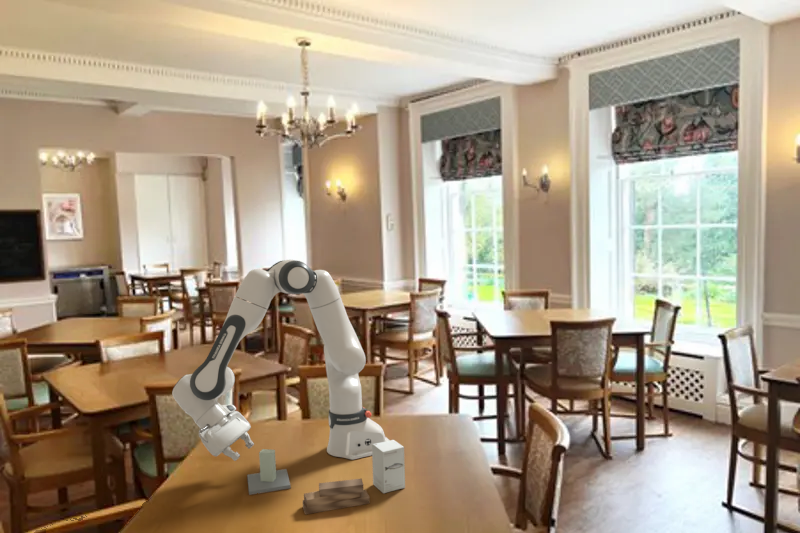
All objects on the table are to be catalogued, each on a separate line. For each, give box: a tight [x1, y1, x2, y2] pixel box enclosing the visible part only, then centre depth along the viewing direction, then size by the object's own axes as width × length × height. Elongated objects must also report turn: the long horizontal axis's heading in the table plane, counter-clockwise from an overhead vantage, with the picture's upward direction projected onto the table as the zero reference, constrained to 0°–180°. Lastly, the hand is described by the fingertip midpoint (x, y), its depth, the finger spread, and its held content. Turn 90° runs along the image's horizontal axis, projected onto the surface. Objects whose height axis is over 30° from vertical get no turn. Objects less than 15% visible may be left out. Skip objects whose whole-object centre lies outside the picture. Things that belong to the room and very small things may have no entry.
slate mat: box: [246, 468, 291, 496], centre depth 178 cm, size 12×12×1 cm
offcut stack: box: [302, 478, 371, 515], centre depth 162 cm, size 18×6×6 cm, turn 107°
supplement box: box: [371, 439, 406, 494], centre depth 173 cm, size 7×7×13 cm
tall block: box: [258, 448, 277, 482], centre depth 178 cm, size 2×4×9 cm, turn 79°
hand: (245, 452), depth 179 cm, fingers open, 8 cm apart
